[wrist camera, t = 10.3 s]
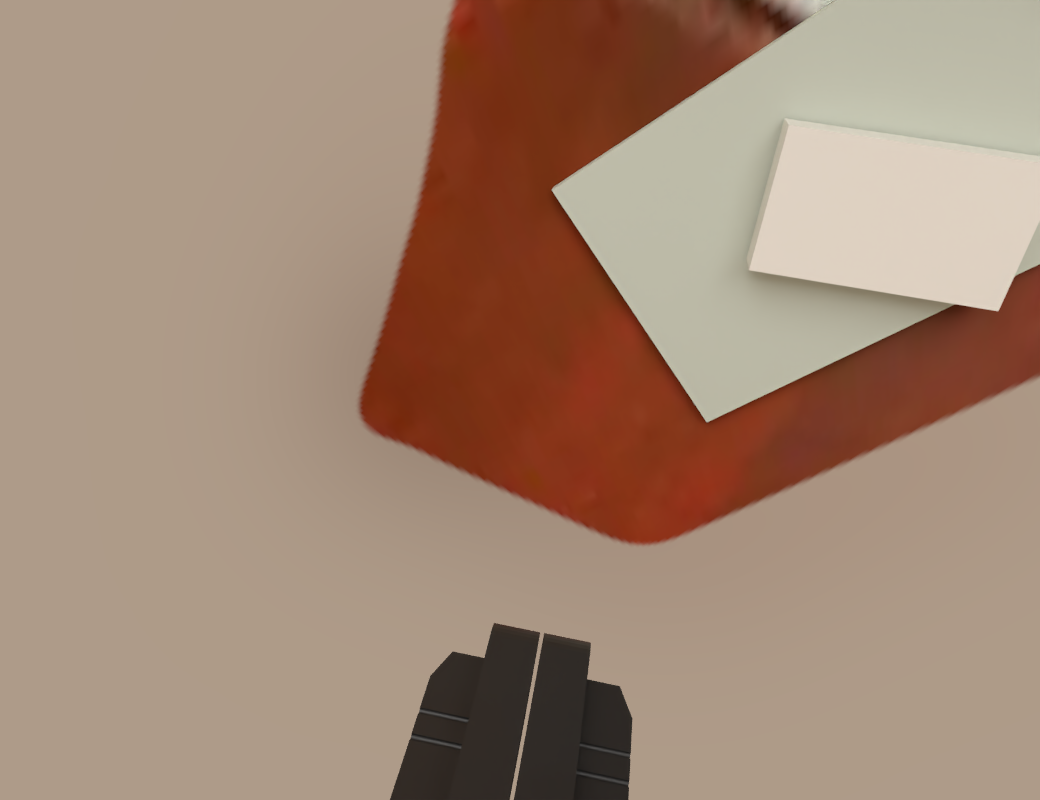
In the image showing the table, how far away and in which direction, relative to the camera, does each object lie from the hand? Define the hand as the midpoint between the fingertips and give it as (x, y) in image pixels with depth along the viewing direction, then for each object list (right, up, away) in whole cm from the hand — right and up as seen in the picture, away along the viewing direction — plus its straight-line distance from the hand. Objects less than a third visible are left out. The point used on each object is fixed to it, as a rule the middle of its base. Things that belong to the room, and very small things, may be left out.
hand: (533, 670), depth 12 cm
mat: (+16, +14, +27) cm, 35 cm away
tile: (+12, +14, +27) cm, 32 cm away
